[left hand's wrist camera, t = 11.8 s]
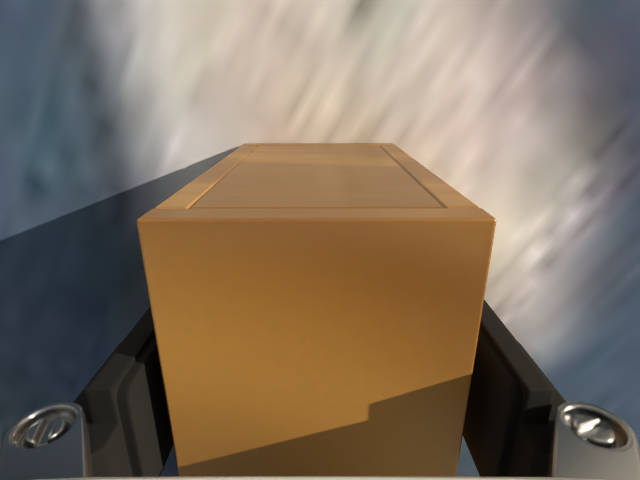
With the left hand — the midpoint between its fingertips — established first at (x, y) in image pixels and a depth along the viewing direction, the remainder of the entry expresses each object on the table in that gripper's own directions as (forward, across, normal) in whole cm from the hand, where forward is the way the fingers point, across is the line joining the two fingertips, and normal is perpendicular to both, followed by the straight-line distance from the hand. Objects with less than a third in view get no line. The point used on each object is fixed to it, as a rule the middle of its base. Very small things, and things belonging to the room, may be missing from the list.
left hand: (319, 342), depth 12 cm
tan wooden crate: (+8, 0, +4) cm, 9 cm away
